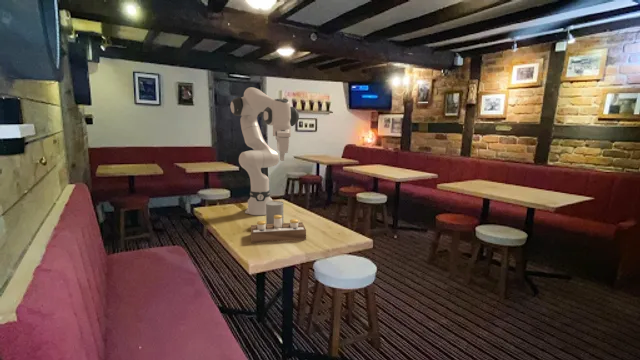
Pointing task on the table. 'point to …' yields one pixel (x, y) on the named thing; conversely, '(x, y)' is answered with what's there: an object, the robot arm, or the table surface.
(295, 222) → the button
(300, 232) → the button board
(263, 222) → the button
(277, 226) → the middle button
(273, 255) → the table surface
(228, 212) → the table surface
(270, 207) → the grey concrete cylinder
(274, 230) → the strip
